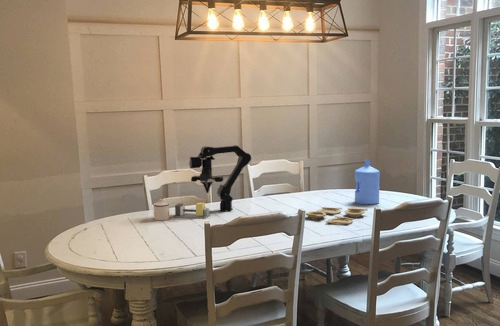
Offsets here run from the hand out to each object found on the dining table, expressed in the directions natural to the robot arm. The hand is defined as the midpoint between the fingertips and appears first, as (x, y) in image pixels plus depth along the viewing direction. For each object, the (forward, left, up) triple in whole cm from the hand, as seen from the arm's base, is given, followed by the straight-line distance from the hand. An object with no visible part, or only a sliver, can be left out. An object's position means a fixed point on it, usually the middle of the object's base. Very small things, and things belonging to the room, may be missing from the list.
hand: (207, 192), depth 283 cm
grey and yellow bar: (+6, +12, -12) cm, 18 cm away
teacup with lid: (+23, +19, -12) cm, 32 cm away
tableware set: (-76, +3, -13) cm, 77 cm away
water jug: (-96, -40, -12) cm, 105 cm away
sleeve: (+1, +12, -11) cm, 16 cm away
